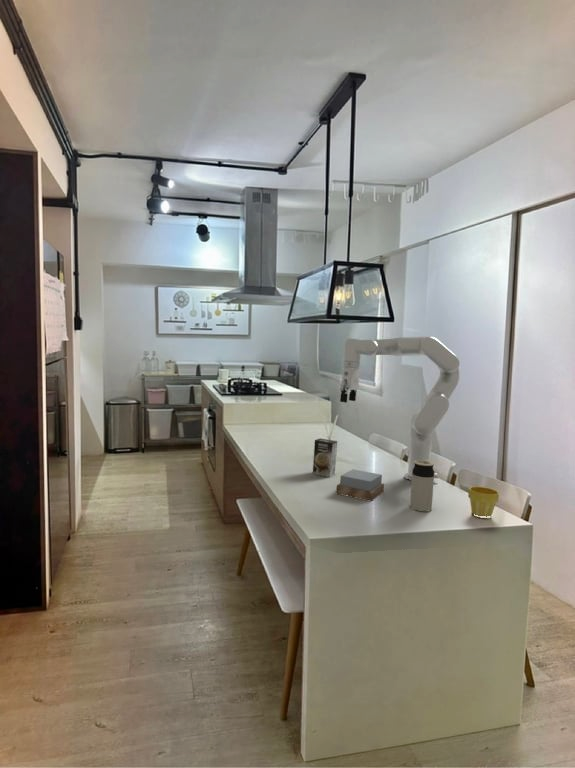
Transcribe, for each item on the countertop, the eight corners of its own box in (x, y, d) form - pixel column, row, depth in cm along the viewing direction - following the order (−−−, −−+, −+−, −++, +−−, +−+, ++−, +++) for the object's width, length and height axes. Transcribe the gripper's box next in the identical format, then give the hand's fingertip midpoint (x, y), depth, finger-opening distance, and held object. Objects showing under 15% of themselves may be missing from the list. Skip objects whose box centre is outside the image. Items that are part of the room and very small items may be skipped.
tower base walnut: (383, 493, 208) (384, 483, 208) (371, 502, 195) (371, 492, 194) (350, 486, 215) (350, 477, 215) (336, 495, 202) (336, 485, 202)
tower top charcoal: (381, 484, 207) (382, 474, 207) (370, 491, 196) (370, 481, 196) (352, 478, 214) (352, 469, 213) (339, 485, 202) (340, 475, 202)
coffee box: (312, 474, 230) (313, 440, 228) (317, 471, 236) (319, 437, 234) (330, 477, 226) (332, 442, 224) (335, 474, 231) (337, 440, 230)
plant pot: (489, 511, 189) (491, 486, 188) (501, 521, 179) (504, 495, 178) (462, 510, 189) (464, 485, 188) (473, 520, 179) (475, 493, 178)
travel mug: (416, 512, 184) (420, 465, 182) (406, 505, 192) (409, 459, 190) (435, 511, 186) (439, 464, 185) (424, 504, 194) (427, 459, 192)
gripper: (351, 366, 222) (347, 403, 224) (365, 365, 237) (362, 401, 239) (336, 364, 226) (332, 401, 228) (351, 364, 241) (348, 399, 243)
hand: (347, 401), depth 233 cm, fingers open, 9 cm apart
